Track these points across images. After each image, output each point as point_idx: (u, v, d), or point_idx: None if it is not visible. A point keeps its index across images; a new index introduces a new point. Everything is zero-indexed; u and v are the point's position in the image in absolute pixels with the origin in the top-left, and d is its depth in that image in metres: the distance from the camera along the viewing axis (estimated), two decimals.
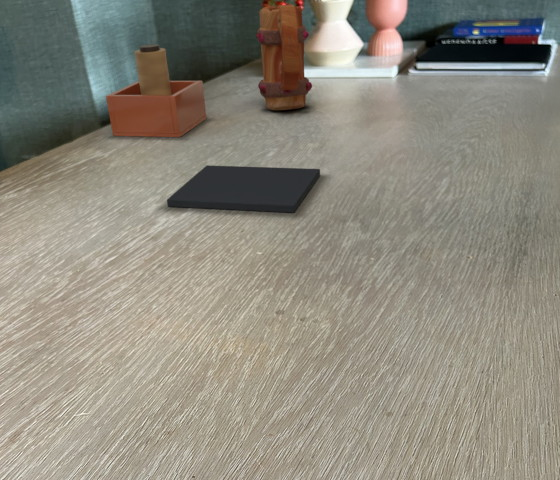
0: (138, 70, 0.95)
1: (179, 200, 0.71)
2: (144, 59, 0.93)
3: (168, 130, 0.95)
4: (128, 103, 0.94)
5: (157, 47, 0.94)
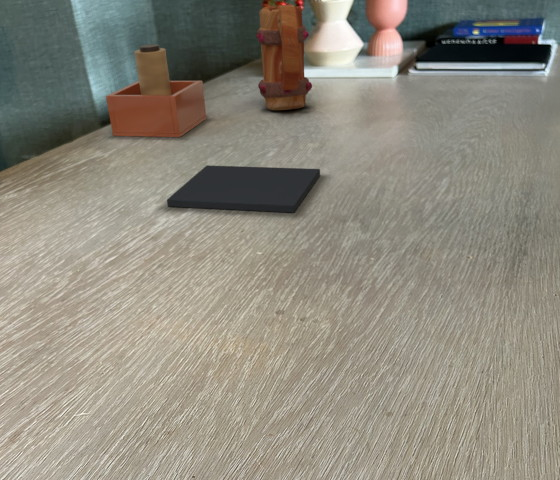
0: (138, 70, 0.95)
1: (179, 200, 0.71)
2: (144, 59, 0.93)
3: (168, 130, 0.95)
4: (128, 103, 0.94)
5: (157, 47, 0.94)
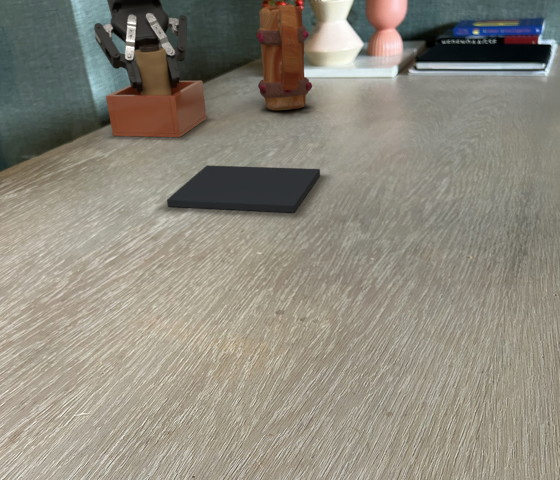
0: None
1: (179, 200, 0.71)
2: (144, 59, 0.93)
3: (168, 130, 0.95)
4: (128, 103, 0.94)
5: (157, 47, 0.94)
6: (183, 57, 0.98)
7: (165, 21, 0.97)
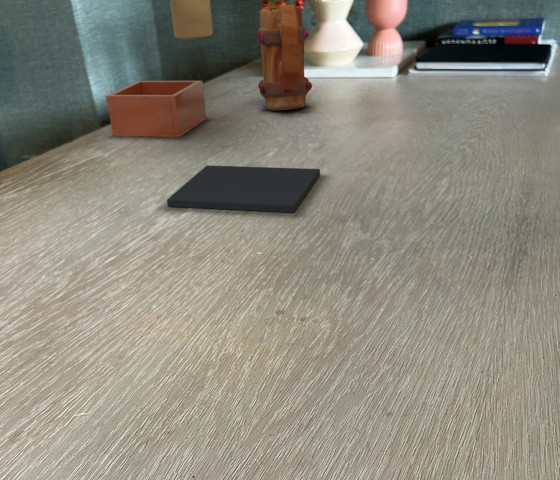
0: None
1: (179, 200, 0.71)
2: None
3: (168, 130, 0.95)
4: (128, 103, 0.94)
5: None
6: None
7: None
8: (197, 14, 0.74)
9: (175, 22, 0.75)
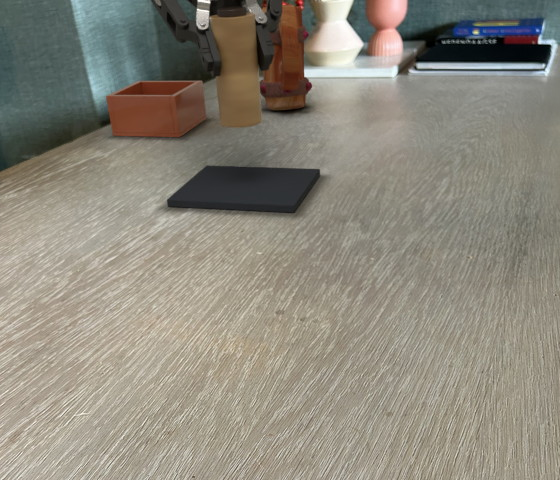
0: None
1: (179, 200, 0.71)
2: (226, 27, 0.64)
3: (168, 130, 0.95)
4: (128, 103, 0.94)
5: (244, 10, 0.64)
6: (276, 27, 0.68)
7: None
8: (247, 103, 0.68)
9: (222, 111, 0.69)
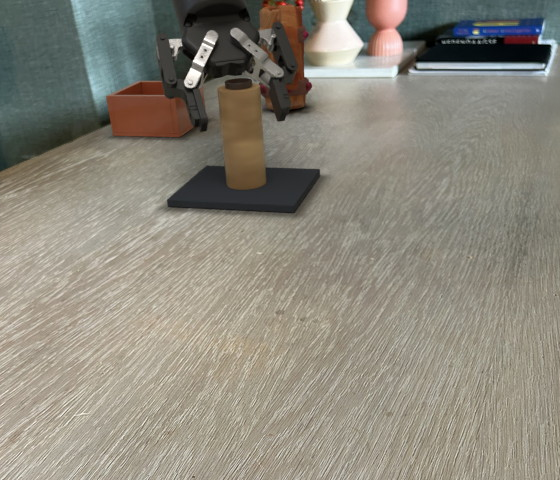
0: (222, 114, 0.69)
1: (179, 200, 0.71)
2: (233, 100, 0.67)
3: (168, 130, 0.95)
4: (128, 103, 0.94)
5: (250, 83, 0.68)
6: (293, 78, 0.72)
7: (255, 39, 0.71)
8: (252, 168, 0.71)
9: (228, 174, 0.72)
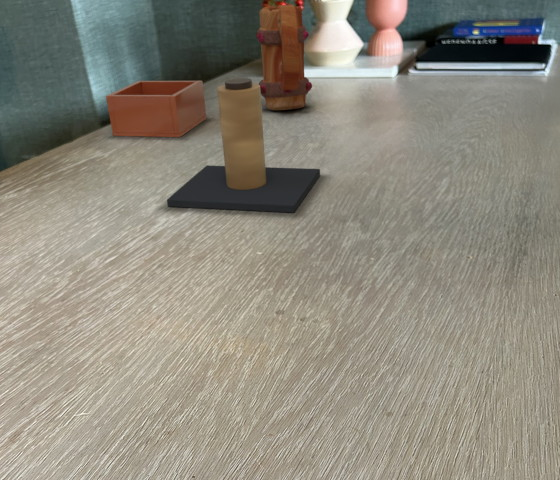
0: (222, 114, 0.69)
1: (179, 200, 0.71)
2: (233, 100, 0.67)
3: (168, 130, 0.95)
4: (128, 103, 0.94)
5: (250, 83, 0.68)
6: None
7: None
8: (252, 168, 0.71)
9: (228, 174, 0.72)
